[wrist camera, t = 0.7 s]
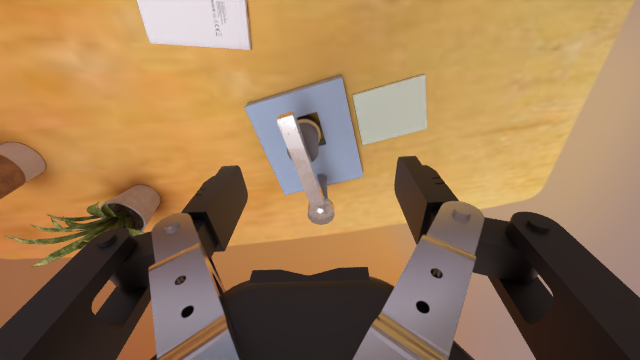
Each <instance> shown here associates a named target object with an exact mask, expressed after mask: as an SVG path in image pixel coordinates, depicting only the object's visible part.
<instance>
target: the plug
mask: <svg viewBox="0 0 640 360" xmlns="http://www.w3.org/2000/svg"><path fill="white" fill-rule="evenodd" d="M297 121H298V123H299V126H300V129H301V132H302V135H303V138H304V141H305V144H306V147H307V149H308V152H309V155H310V158H311V161H312V162H313V161H314V160H315V159H316V158H317V156H318V148H319V141H320V138H321V133H320V129H319V127H318V123H317V122H316V120H315V119H314V118H312V117H310V116H301V117H299V118H297ZM287 154H288V156H289V158H290V159H291V160H292V158H291V155H290V153H289V150H288V148H287Z"/></svg>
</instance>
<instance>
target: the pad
mask: <svg viewBox="0 0 640 360" xmlns="http://www.w3.org/2000/svg"><path fill="white" fill-rule="evenodd" d="M352 96H353V101H354V106H355V111H356V116H357V121H358V126H359V131H360V136H361V141H362V145H366V144H370V143H374V142H378V141H382V140H386V139H390V138H393V137H397V136H401V135H405V134H409V133H413V132H417V131H421V130H425V129H427V115H426V79H425V74H422V75H418V76H415V77H411V78H408V79H404V80H401V81H397V82H394V83H391V84H387V85H384V86H380V87H377V88H373V89H370V90H366V91H363V92H360V93H356V94H353V95H352Z"/></svg>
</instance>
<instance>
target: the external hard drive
mask: <svg viewBox="0 0 640 360" xmlns="http://www.w3.org/2000/svg"><path fill="white" fill-rule="evenodd" d="M137 3H138V6H139V10H140V13H141V16H142V19H143V23H144V26H145V30H146V33H147V36H148V39H149V41H150V43H152V44H167V45H181V46H197V47H211V48H227V49H243V50H251V49H252V48H251V38H250V27H249V18H248V12H247V0H137Z"/></svg>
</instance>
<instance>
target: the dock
mask: <svg viewBox="0 0 640 360" xmlns="http://www.w3.org/2000/svg"><path fill="white" fill-rule="evenodd" d="M244 108H245V110H246V112H247V114H248V116H249V119H250V121H251V123H252V125H253V127H254V129H255V132H256V134H257V136H258V138H259V140H260V142H261V145H262V147H263V149H264V151H265V153H266V155H267V157H268V160H269V162H270V164H271V166H272V168H273V170H274V173H275V175H276V177H277V179H278V181H279V183H280V186H281V188H282V190H283V192H284V194H285V195H287V194H292V193H296V192H300V191H304V188H303V186H302V183H301V181H300V178H299V176H298V173H297V171H296V168H295V166H294V163H293V161H292V160H291V159H290V158H289V156H288V154H287V145H286V143H285V140H284V138H283V135H282V133H281V130H280V128H279V125H278V123H277V118H278V115H281V114H284V113H288V112H291V111H294V112H295V115H296V118H297V117H300V116H304V115H307V114H311V113H314V112H317V113H318V117H319V120H320V124H321V127H322V130H323V134H324V137H325V140H321V141H319V148H318V156H317V158H316V159H315V160H314V161H313V162H312V164H313V167H314V170H315V172H316V175H317V178H318V181H319V184H320V187H321V190H322V193H323V196H324V198H327V199H328V197H327V185H330V184H334V183H339V182H343V181H347V180H351V179H356V178H360V177H363V173H362V168H361V164H360V159H359V154H358V150H357V145H356V140H355V136H354V131H353V126H352V122H351V117H350V112H349V108H348V103H347V98H346V94H345V89H344V84H343V79H342V76H341V75H339V76H336V77H332V78H329V79H326V80H323V81H319V82H316V83H313V84H310V85H306V86H303V87H300V88H296V89H293V90H290V91H287V92H283V93H280V94H277V95H274V96H270V97H267V98H264V99H260V100H257V101H254V102H251V103H248V104H247V105H246V106H245V107H244Z"/></svg>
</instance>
